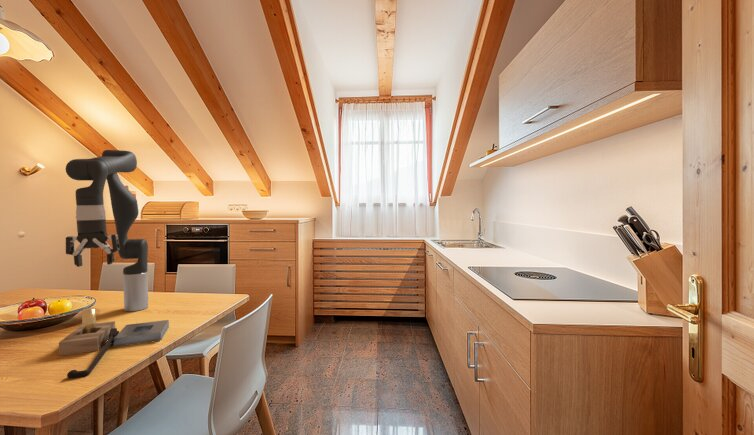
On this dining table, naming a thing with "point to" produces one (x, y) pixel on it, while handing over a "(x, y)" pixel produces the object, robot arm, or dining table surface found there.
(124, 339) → the block
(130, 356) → the dining table surface
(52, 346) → the dining table surface
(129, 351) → the dining table surface
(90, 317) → the gold round-topped peg
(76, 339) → the brown recessed block
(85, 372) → the wrench
